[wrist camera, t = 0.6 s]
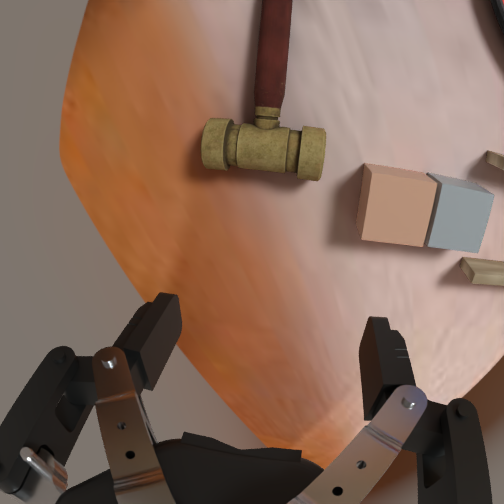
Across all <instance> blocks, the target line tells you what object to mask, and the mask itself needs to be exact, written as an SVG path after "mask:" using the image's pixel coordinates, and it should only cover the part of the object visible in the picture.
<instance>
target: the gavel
mask: <svg viewBox="0 0 504 504" xmlns="http://www.w3.org/2000/svg"><path fill="white" fill-rule="evenodd" d="M291 13H292V0H263V2H262V12H261V23H260V33H259V44H258V55H257V66H256V77H255V89H254V96H255V115H256V119H255V118H254V124H245V123H243V124H242V125H234V121H233V120H232V119H221V118H210V119H209V120H208V122H207V123H206V125H205V127H204V130H203V133H202V139H201V158H202V162H203V164H204V166H205V167H206V168H207V169H217V170H228V169H229V168H230V166H231V165H232V166H238V167H239V168H245V169H254V170H263V171H272V172H280V173H285V172H286V171H287V172H294V173H297V178H298V179H305V180H312V181H318V180H319V179H320V178H321V174H322V169H323V163H324V156H325V146H326V132H325V130H324V129H322V128H315V127H308V126H303V128H302V131H297V130H290V128H287V127H279V124H280V121H278V117H280V110H281V106H282V102H283V98H284V94H285V83H286V72H287V61H288V49H289V38H290V25H291Z"/></svg>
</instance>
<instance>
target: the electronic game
mask: <svg viewBox="0 0 504 504" xmlns="http://www.w3.org/2000/svg"><path fill="white" fill-rule="evenodd" d="M491 3H492V6H493V9H494V12H495V15H496V17H497V20H498V22H499V25H500V27H501V29H502V32H503V34H504V0H491Z"/></svg>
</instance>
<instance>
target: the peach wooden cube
mask: <svg viewBox="0 0 504 504" xmlns="http://www.w3.org/2000/svg"><path fill="white" fill-rule="evenodd" d="M436 188H437V183H436V182H435V181H434V180H432V179H431V178H430V177H428V176H427V175H426V174H424V173H423V172H417V171H412V170H406V169H400V168H394V167H388V166H381V165H375V164H368V163H364V170H363V178H362V185H361V192H360V199H359V206H358V212H357V219H356V225H357V228H358V231H359V234H360V237H361V240H368V241H377V242H385V243H394V244H402V245H410V246H419V247H423V244H424V240H425V236H426V233H427V229H428V225H429V220H430V216H431V212H432V207H433V203H434V198H435V193H436Z"/></svg>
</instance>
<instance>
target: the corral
mask: <svg viewBox="0 0 504 504" xmlns="http://www.w3.org/2000/svg"><path fill="white" fill-rule="evenodd" d="M486 162H488V163H490V164H492V165H494V166H496V167H498V168H499V169H501V170H503V171H504V155H502V154H498V153H495V152H492V151H487V158H486ZM460 267H461V269H462V270H463V272H464V273H465V275H466V276H467V278H468V279H469V280H470V282H471V283H472V284H485V285H499V286H504V262H502V261H493V260H485V259H476V258H467V257H463V258H462V261H461V264H460Z"/></svg>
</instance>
